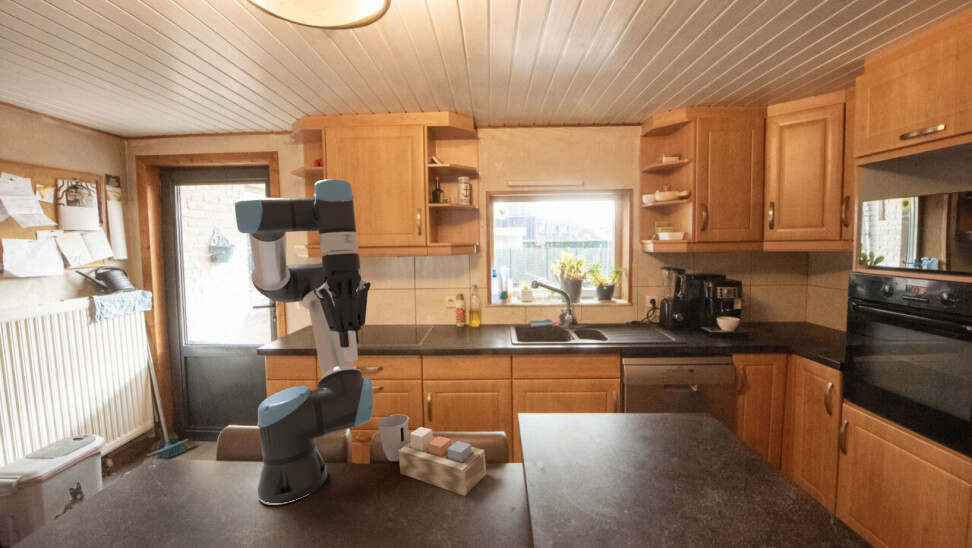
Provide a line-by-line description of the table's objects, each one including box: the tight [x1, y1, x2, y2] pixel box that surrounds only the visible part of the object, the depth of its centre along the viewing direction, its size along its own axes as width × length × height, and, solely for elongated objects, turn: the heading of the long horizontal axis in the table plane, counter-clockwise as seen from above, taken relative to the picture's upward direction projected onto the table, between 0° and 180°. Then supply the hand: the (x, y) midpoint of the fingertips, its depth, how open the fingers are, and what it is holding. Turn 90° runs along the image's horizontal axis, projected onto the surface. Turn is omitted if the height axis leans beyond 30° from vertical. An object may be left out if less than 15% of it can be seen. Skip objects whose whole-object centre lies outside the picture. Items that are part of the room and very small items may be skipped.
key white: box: [409, 426, 434, 452], centre depth 95 cm, size 4×4×6 cm
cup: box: [377, 413, 410, 462], centre depth 102 cm, size 8×8×10 cm
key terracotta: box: [428, 435, 452, 458], centre depth 92 cm, size 4×4×6 cm
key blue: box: [447, 440, 472, 463], centre depth 89 cm, size 4×4×6 cm
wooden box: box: [398, 436, 487, 497], centre depth 92 cm, size 20×9×6 cm, turn 57°
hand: (351, 360), depth 82 cm, fingers closed
